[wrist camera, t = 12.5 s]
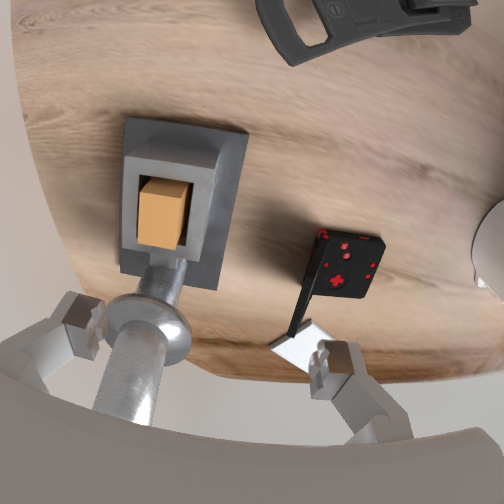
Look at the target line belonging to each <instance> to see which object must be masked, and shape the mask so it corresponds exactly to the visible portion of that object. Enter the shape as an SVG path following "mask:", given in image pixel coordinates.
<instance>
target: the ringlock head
mask: <svg viewBox="0 0 504 504" xmlns="http://www.w3.org/2000/svg"><path fill="white" fill-rule="evenodd" d="M248 139H249V134H248V133H243V132H238V131H233V130H227V129H222V128H216V127H210V126H204V125H197V124H191V123H184V122H177V121H169V120H161V119H153V118H144V117H133V116H129V117H126V118H125V128H124V138H123V150H122V164H121V183H120V272H121V273H124V274H129V275H134V276H139V277H141V279H140V282H139V284H138V286H137V289H136V291H135V293H132V294H124V295H120V296H118V297H116V298H114V299H112V300H111V301H110V302H109V303H108V304H107V306H106V308H105V310H104V313H105V314H106V315H107V320H108V324H107V330H106V334H105V336H104V339H105V340H106V341H107V343H108V344H109V345H110V346H111V348H112V349H113V350H112V352H111V355H110V358H109V361H108V363H107V366H106V369H105V372H104V375H103V378H102V381H101V384H100V386H99V390H98V393H97V396H96V399H95V402H94V405H93V408H92V410H94V411H97V412H100V413H103V414H107V415H110V416H113V417H117V418H120V419H124V420H128V421H131V422H135V423H139V424H143V425H147V426H151V425H152V420H153V414H154V410H155V404H156V399H157V394H158V390H159V385H160V380H161V375H162V371H163V367H164V366H170V365H174V364H177V363H178V362H180V361H182V360H183V359H184V358H185V357H186V356H187V355H188V353H189V351H190V347H191V341H192V330H191V327H190V324H189V322H188V321H187V319H186V318H185V316H184V315H183V314H182V313H181V312H180V311H179V310H178V309H177V306H178V302H179V298H180V294H181V290H182V286H183V285H187V286H192V287H198V288H204V289H209V290H215V291H217V286H218V281H219V276H220V271H221V266H222V261H223V256H224V251H225V246H226V241H227V236H228V231H229V226H230V222H231V217H232V212H233V207H234V203H235V198H236V193H237V189H238V184H239V179H240V175H241V170H242V166H243V161H244V157H245V152H246V148H247V143H248ZM153 176H154V177H161V178H167V179H174V180H180V181H186V182H192V183H193V189H192V195H191V202H190V210H189V213H188V216H187V219H186V221H185V224H184V227H183V229H182V232H181V235H180V237H179V240H178V243H177V246H176V248H175V250H172V249H167V248H161V247H156V246H150V245H145V244H139V243H138V220H139V200H140V191H141V190H142V189H143V188H144V186H145V185H146V184H147V183H148V182H149V180H150V179H151V178H152V177H153Z"/></svg>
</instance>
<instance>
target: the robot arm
mask: <svg viewBox="0 0 504 504" xmlns="http://www.w3.org/2000/svg"><path fill="white" fill-rule="evenodd" d="M472 261H473V265H474V267H475V270H476V274H475V284H476V285H477V286H478V287H489V288H490V290H491V291H492V292H493V293H494V294H495V295H496V296H497V297H498V298H499V300H500V301H501V302H502V303H503V304H504V200H502V201H501V202H499V203H498V204H497V205H496V206H495V207H494V208H493V209H492V210H491V211H490V212H489V213H488V214H487V216H486V217H485V219H484V220H483V222H482V224H481V225H480V227H479V229H478V232H477V234H476V237H475V240H474V244H473V249H472ZM105 308H106V307H105V302H104V301H103V300H101V299H97V298H94V297H90V296H87V295H83V294H79V293H76V292H72V291H68V292H67V293H66V294H65V295H64V297H63V298H62V300H61V301H60V303H59V304H58V306H57V307H56V309H55V310H54V312H53V314H52V315H51V317H50V318H49V319H48V318H45V319H43V320H41V321H40V322H38V323H36V324H34V325H32V326H30V327H28V328H26V329H24V330H22V331H21V332H19V333H17V334H15V335H13V336H11V337H9V338H8V339H6V340H4V341H2V342H1V343H0V504H504V456H503V453H502V450H501V448H500V446H499V445H498V444H497V443H496V442H495V441H494V440H493V439H492V438H491V437H490V436H489V435H488V434H487V433H486V432H485V431H484V430H483V429H481V428H479V427H474V428H468V429H464V430H460V431H455V432H451V433H446V434H441V435H435V436H429V437H422V438H416V439H414V437H413V433H412V430H411V425H410V422H409V418H408V414H407V412H406V411H405V410H404V409H403V408H402V407H401V406H400V405H399V404H398V403H397V402H396V401H395V400H394V399H393V398H392V397H391V396H390V395H389V394H388V393H387V392H386V391H385V390H384V389H383V388H382V387H381V386H380V385H379V384H378V382H377V381H376V380H375V379H374V378H373V377H372V376H370V375H367V371H366V368H365V364H364V360H363V357H362V353H361V350H360V346H359V344H358V343H357V342H345V341H336V340H326V339H321V340H320V341H319V342H318V344H317V351H315V352H313V353H312V355H311V357H310V360H309V365H308V372H309V376H310V377H311V379H312V380H313V381H312V382H311V384H310V390H311V399H317V400H331V401H332V403H333V404H334V406H335V407H336V409H337V410H338V412H339V413H340V414H341V416H342V417H343V419H344V420H345V422H346V423H347V424H348V426H349V427H350V429H351V430H352V431H353V433H354V434H355V435H354V436H353V437H352V438H351V439H350V440H349V441H347V442H346V443H345V445H325V446H306V445H279V444H263V443H251V442H241V441H231V440H224V439H217V438H209V437H203V436H197V435H191V434H185V433H180V432H175V431H170V430H165V429H160V428H156V427H152V426H147V425H143V424H139V423H135V422H131V421H128V420H124V419H120V418H117V417H113V416H110V415H107V414H103V413H100V412H97V411H94V410H91V409H87V408H85V407H82V406H79V405H76V404H73V403H70V402H68V401H65V400H62V399H60V398H57V397H55V396H52V395H50V393H49V391H48V389H47V387H46V385H45V384H44V382H43V381H44V380H45V379H46V378H48V377H49V376H50V375H51V374H53V373H54V372H55V371H57V370H58V369H59V368H60V367H62V366H63V365H64V364H66V363H67V362H68V361H69V360H71V359H72V358H73V357H74V356H78V357H81V358H85V359H88V360H92V361H94V359H95V357H96V354H97V352H98V350H99V344H98V342H99V341H101V340H103V339H104V336H105V334H106V330H107V324H108V320H107V315H106V314H105V313H104V310H105Z"/></svg>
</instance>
